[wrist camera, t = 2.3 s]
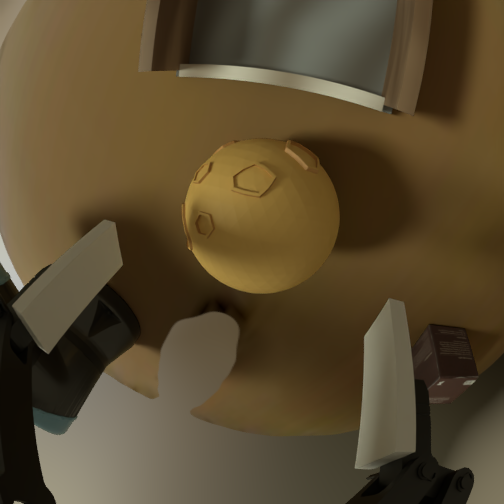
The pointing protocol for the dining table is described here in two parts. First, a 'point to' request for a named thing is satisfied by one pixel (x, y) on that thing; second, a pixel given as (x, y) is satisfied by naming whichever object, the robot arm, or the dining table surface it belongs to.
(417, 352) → the box
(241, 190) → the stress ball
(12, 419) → the robot arm
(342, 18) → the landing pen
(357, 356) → the dining table surface
